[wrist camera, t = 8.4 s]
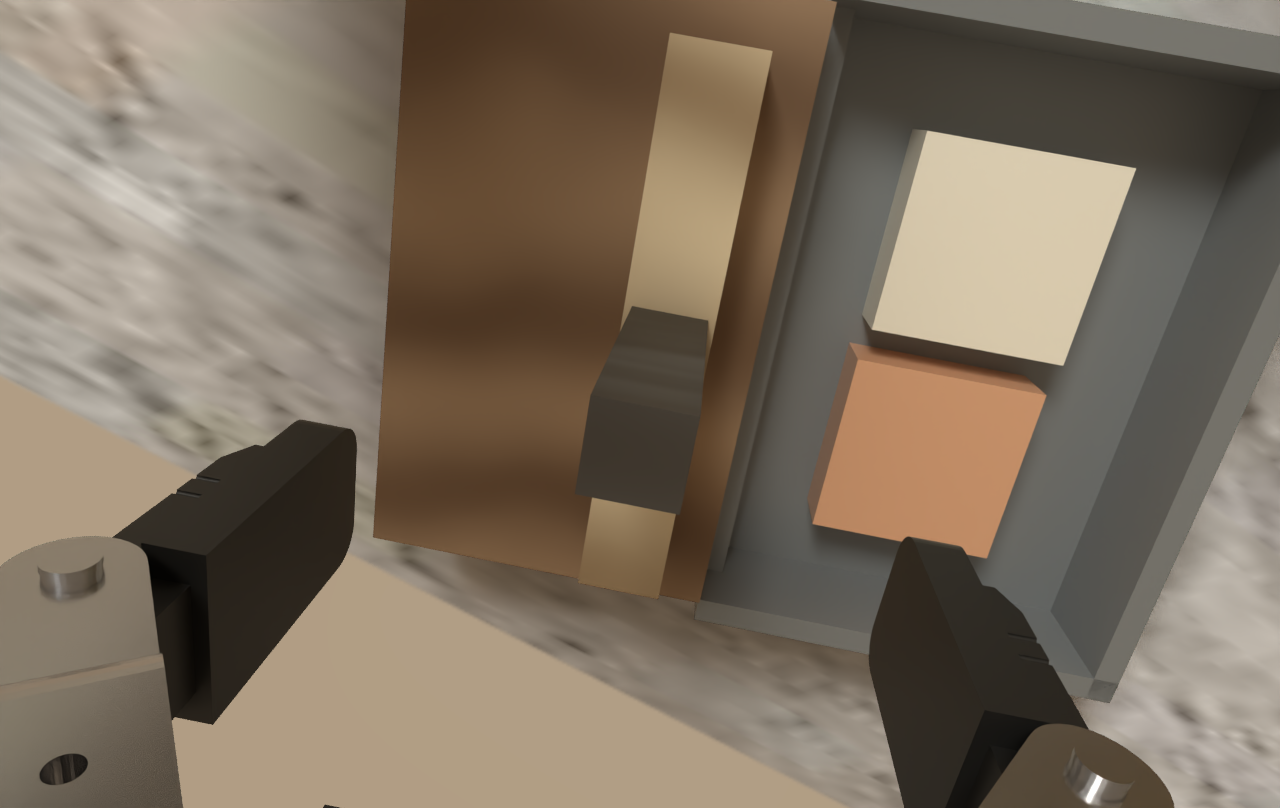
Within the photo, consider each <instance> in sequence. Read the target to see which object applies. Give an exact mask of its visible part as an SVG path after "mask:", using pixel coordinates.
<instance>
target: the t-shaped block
mask: <svg viewBox="0 0 1280 808" xmlns="http://www.w3.org/2000/svg"><path fill="white" fill-rule="evenodd" d="M772 52H773V51H769V50H764V49H758V48H753V47H747V46H741V45H736V44H730V43H725V42H719V41H714V40H708V39H702V38H697V37H691V36H686V35H680V34H675V33H670V36H669V41H668V47H667V53H666V59H665V65H664V71H663V77H662V83H661V89H660V95H659V101H658V107H657V113H656V119H655V125H654V131H653V137H652V143H651V149H650V155H649V161H648V167H647V173H646V179H645V185H644V191H643V197H642V203H641V209H640V215H639V221H638V227H637V233H636V239H635V245H634V251H633V257H632V263H631V269H630V275H629V281H628V287H627V292H626V298H625V304H624V310H623V316H622V322H621V328H620V333H619V335H618V337H617V339H616V341H615V344H614V346H613V348H612V350H611V352H610V354H609V356H608V359H607V361H606V363H605V365H604V367H603V369H602V371H601V374H600V376H599V378H598V380H597V382H596V384H595V386H594V389H593V391H592V393H591V395H590V401H589V407H588V413H587V420H586V426H585V432H584V438H583V445H582V451H581V457H580V464H579V470H578V476H577V483H576V489H575V494H577V495H582V496H587V497H592V502H591V508H590V514H589V520H588V526H587V532H586V538H585V543H584V549H583V555H582V561H581V567H580V573H579V579H578V583H581V584H585V585H590V586H595V587H600V588H605V589H610V590H615V591H620V592H625V593H630V594H635V595H640V596H645V597H650V598H655V599H658V597H659V592H660V587H661V582H662V578H663V573H664V568H665V563H666V559H667V554H668V549H669V544H670V539H671V535H672V530H673V525H674V520H675V516H676V514H677V515H680V511H681V507H682V502H683V497H684V492H685V488H686V483H687V478H688V473H689V469H690V464H691V459H692V455H693V450H694V445H695V440H696V436H697V431H698V426H699V421H700V417H701V405H702V392H703V382H704V377H705V372H706V367H707V363H708V358H709V353H710V348H711V344H712V339H713V334H714V329H715V325H716V320H717V315H718V310H719V305H720V301H721V296H722V291H723V286H724V282H725V277H726V272H727V267H728V262H729V258H730V253H731V248H732V243H733V239H734V234H735V229H736V224H737V219H738V215H739V210H740V205H741V200H742V196H743V191H744V186H745V181H746V176H747V172H748V167H749V162H750V157H751V153H752V148H753V143H754V138H755V133H756V129H757V124H758V119H759V114H760V110H761V105H762V100H763V95H764V90H765V86H766V81H767V76H768V71H769V67H770V62H771V57H772Z"/></svg>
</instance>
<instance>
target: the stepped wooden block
mask: <svg viewBox="0 0 1280 808" xmlns="http://www.w3.org/2000/svg"><path fill="white" fill-rule="evenodd" d="M836 4H837V2H835V1H829V0H406V9H405V25H404V42H403V58H402V74H401V91H400V107H399V124H398V140H397V156H396V173H395V189H394V205H393V222H392V238H391V254H390V271H389V287H388V303H387V320H386V336H385V352H384V369H383V385H382V401H381V418H380V434H379V450H378V467H377V483H376V499H375V516H374V532H373V537H374V538H379V539H384V540H389V541H394V542H399V543H404V544H409V545H414V546H419V547H424V548H429V549H434V550H439V551H444V552H449V553H454V554H459V555H464V556H469V557H474V558H479V559H484V560H489V561H494V562H499V563H504V564H509V565H514V566H519V567H523V568H528V569H533V570H538V571H543V572H548V573H553V574H558V575H563V576H568V577H573V578H578V579H579V573H580V567H581V561H582V555H583V549H584V543H585V538H586V532H587V526H588V520H589V514H590V508H591V502H592V497H587V496H582V495H577V494H575V489H576V483H577V476H578V470H579V464H580V457H581V451H582V445H583V438H584V432H585V426H586V420H587V413H588V407H589V401H590V395H591V393H592V391H593V389H594V386H595V384H596V382H597V380H598V378H599V376H600V374H601V371H602V369H603V367H604V365H605V363H606V361H607V359H608V356H609V354H610V352H611V350H612V348H613V346H614V344H615V341H616V339H617V337H618V335H619V333H620V328H621V322H622V316H623V310H624V304H625V298H626V292H627V287H628V281H629V275H630V269H631V263H632V257H633V251H634V245H635V239H636V233H637V227H638V221H639V215H640V209H641V203H642V197H643V191H644V185H645V179H646V173H647V167H648V161H649V155H650V149H651V143H652V137H653V131H654V125H655V119H656V113H657V107H658V101H659V95H660V89H661V83H662V77H663V71H664V65H665V59H666V53H667V47H668V41H669V36H670V33H675V34H680V35H686V36H691V37H697V38H702V39H708V40H714V41H719V42H725V43H730V44H736V45H741V46H747V47H753V48H758V49H764V50H769V51H773V52H772V57H771V62H770V67H769V71H768V76H767V81H766V86H765V90H764V95H763V100H762V105H761V110H760V114H759V119H758V124H757V129H756V133H755V138H754V143H753V148H752V153H751V157H750V162H749V167H748V172H747V176H746V181H745V186H744V191H743V196H742V200H741V205H740V210H739V215H738V219H737V224H736V229H735V234H734V239H733V243H732V248H731V253H730V258H729V262H728V267H727V272H726V277H725V282H724V286H723V291H722V296H721V301H720V305H719V310H718V315H717V320H716V325H715V329H714V334H713V339H712V344H711V348H710V353H709V358H708V363H707V367H706V372H705V377H704V382H703V392H702V405H701V417H700V421H699V426H698V431H697V436H696V440H695V445H694V450H693V455H692V459H691V464H690V469H689V473H688V478H687V483H686V488H685V492H684V497H683V502H682V507H681V511H680V515H677V514H676V516H675V520H674V525H673V530H672V535H671V539H670V544H669V549H668V554H667V559H666V563H665V568H664V573H663V578H662V582H661V587H660V592H659V595H663V596H668V597H673V598H678V599H683V600H687V601H692V602H697V603H700V598H701V594H702V589H703V585H704V581H705V576H706V572H707V568H708V563H709V559H710V555H711V550H712V546H713V541H714V537H715V533H716V528H717V524H718V520H719V515H720V511H721V506H722V502H723V498H724V493H725V489H726V485H727V480H728V476H729V472H730V467H731V463H732V458H733V454H734V450H735V445H736V441H737V437H738V432H739V428H740V423H741V419H742V415H743V410H744V406H745V402H746V397H747V393H748V389H749V384H750V380H751V375H752V371H753V367H754V362H755V358H756V354H757V349H758V345H759V340H760V336H761V332H762V327H763V323H764V319H765V314H766V310H767V306H768V301H769V297H770V292H771V288H772V284H773V279H774V275H775V271H776V266H777V262H778V257H779V253H780V249H781V244H782V240H783V236H784V231H785V227H786V223H787V218H788V214H789V209H790V205H791V201H792V196H793V192H794V188H795V183H796V179H797V174H798V170H799V166H800V161H801V157H802V153H803V148H804V144H805V140H806V135H807V131H808V126H809V122H810V118H811V113H812V109H813V105H814V100H815V96H816V91H817V87H818V83H819V78H820V74H821V70H822V65H823V61H824V57H825V52H826V48H827V43H828V39H829V35H830V30H831V26H832V22H833V17H834V13H835V8H836Z"/></svg>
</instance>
